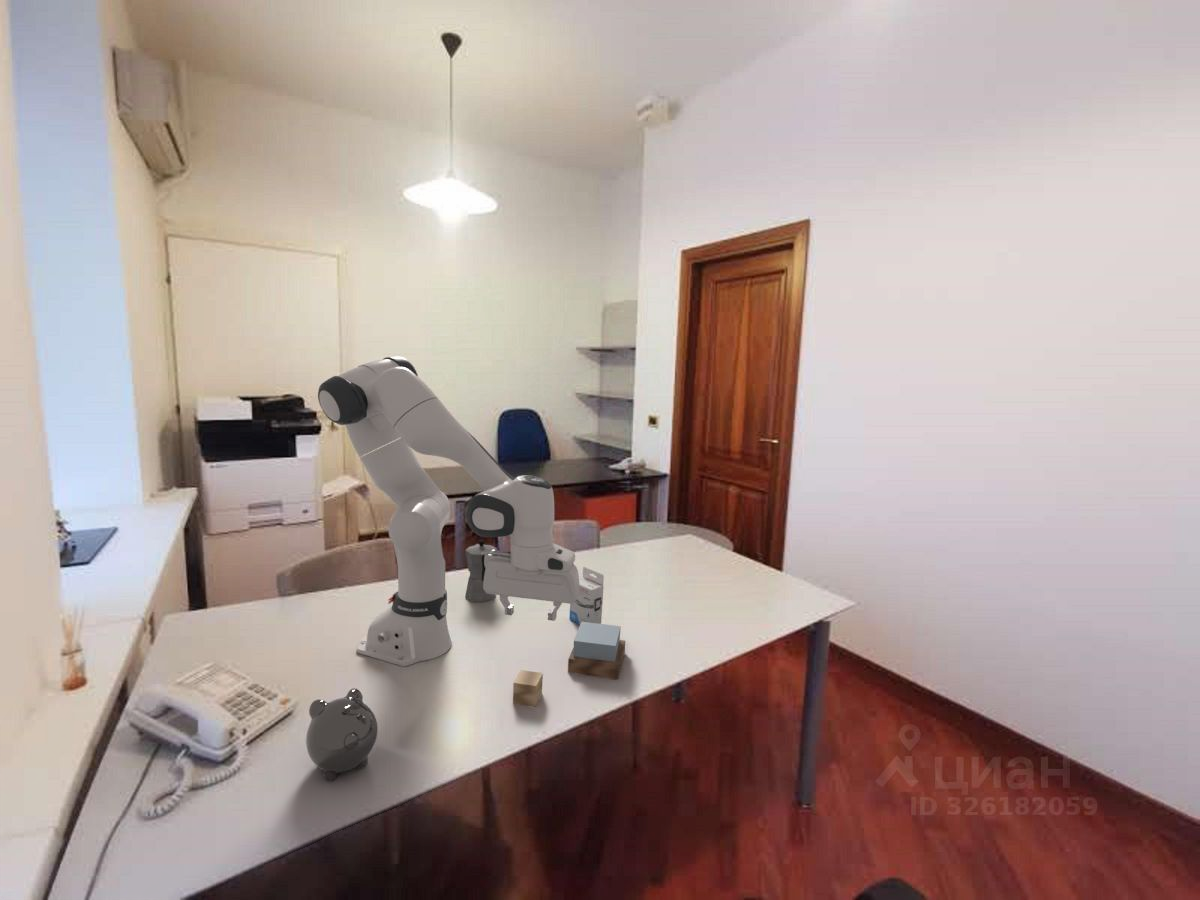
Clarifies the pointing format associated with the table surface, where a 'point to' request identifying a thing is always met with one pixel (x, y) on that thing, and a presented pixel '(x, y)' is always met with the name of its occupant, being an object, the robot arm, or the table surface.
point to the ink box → (588, 598)
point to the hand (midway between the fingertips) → (530, 616)
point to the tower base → (598, 665)
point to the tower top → (597, 641)
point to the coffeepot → (477, 572)
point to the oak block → (527, 688)
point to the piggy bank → (341, 734)
